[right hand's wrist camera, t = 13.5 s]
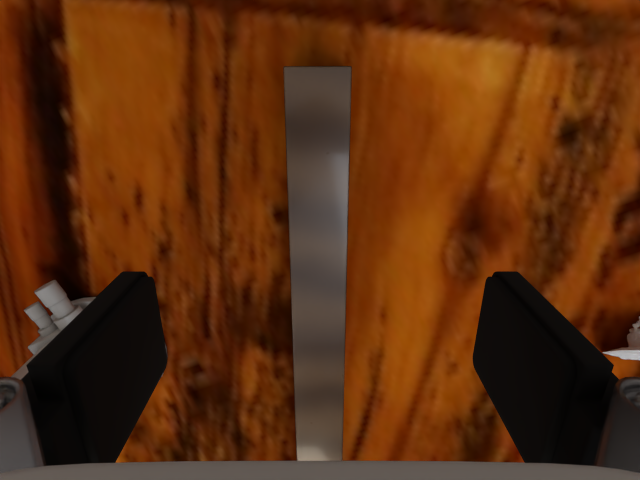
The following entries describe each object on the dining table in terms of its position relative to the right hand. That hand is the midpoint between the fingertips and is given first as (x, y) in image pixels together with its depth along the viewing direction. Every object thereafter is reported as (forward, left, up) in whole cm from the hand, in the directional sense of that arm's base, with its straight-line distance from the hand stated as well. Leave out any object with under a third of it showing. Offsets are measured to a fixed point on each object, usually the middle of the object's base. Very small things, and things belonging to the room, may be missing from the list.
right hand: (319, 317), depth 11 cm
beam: (+24, -11, -26) cm, 37 cm away
